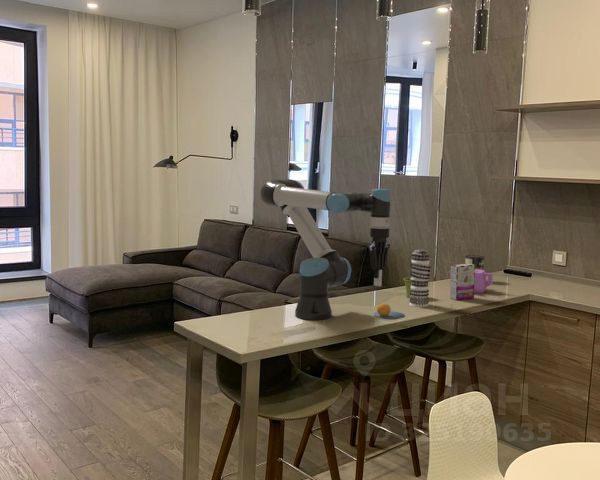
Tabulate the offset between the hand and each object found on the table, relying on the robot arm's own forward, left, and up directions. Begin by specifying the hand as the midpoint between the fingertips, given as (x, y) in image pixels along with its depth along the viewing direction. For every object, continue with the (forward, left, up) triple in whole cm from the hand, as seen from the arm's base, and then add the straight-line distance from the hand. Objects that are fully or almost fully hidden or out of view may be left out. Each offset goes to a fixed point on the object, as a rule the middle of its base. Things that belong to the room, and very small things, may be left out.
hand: (377, 285), depth 247 cm
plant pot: (-12, +50, -14) cm, 53 cm away
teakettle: (+1, +85, -14) cm, 86 cm away
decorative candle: (-1, +36, -14) cm, 39 cm away
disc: (0, +9, -14) cm, 16 cm away
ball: (0, +6, -11) cm, 12 cm away
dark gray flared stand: (-10, +114, -14) cm, 115 cm away
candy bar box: (+7, +63, -14) cm, 65 cm away
